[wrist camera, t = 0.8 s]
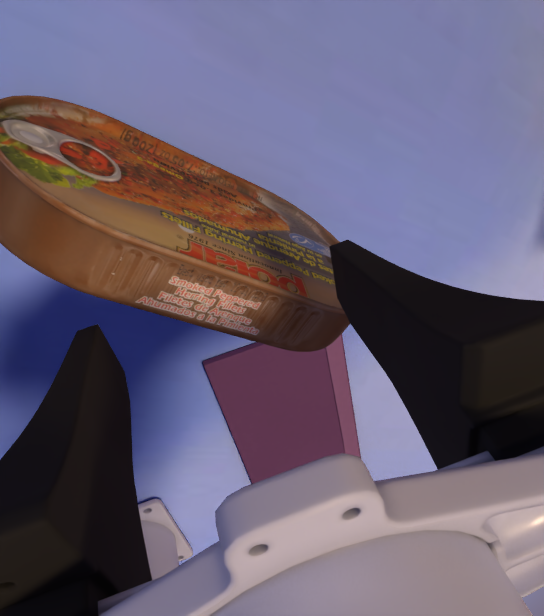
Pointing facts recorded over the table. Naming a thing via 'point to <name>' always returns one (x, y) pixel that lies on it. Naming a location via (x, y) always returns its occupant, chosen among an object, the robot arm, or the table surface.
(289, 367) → the purple rectangular board
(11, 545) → the robot arm
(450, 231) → the table surface
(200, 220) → the tin
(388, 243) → the table surface
